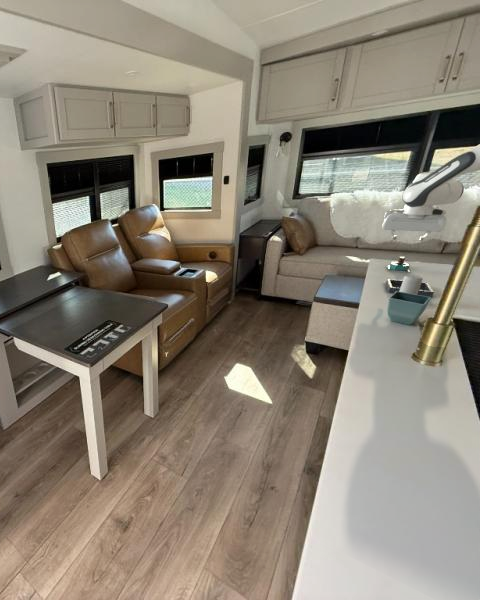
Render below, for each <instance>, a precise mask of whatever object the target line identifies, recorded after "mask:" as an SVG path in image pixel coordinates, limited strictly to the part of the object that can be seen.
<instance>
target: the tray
mask: <svg viewBox="0 0 480 600" xmlns="http://www.w3.org/2000/svg"><path fill="white" fill-rule="evenodd" d="M402 282H403V279H395V278H394V279H393V278H386V282H385V287H386V291H387V293H388V294H394V293H395V292H396V291H400V288H401V285H402ZM434 294H435V291H434V290H433V288H432V287H431V285H430V283H429V282H424V281H422V283H421V285H420V288H419V291H418V293H417V295H422V296H427V297H431V299H432V298H433V296H434Z"/></svg>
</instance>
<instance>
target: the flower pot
mask: <svg viewBox="0 0 480 600" xmlns="http://www.w3.org/2000/svg"><path fill="white" fill-rule="evenodd" d="M431 299H432V298H431V297H427V296H422V295H416V294H410V293H404V292H399V291H396V292H395V293H392V294H391V295H390V296H389V297H388V301H387V302H388V303H387V309H386V312H387V316H388V318H389V320H390V321H391V322H395V323H400V324H404V325H409V326H410V325H413V324H414V323H415V322H416V321H418V319H419V318H420V317H421V315H422V314H424V312H425V310H426V309H427V307H428V305H429V303H430V301H431Z"/></svg>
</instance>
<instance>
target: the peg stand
mask: <svg viewBox="0 0 480 600" xmlns="http://www.w3.org/2000/svg"><path fill="white" fill-rule="evenodd" d="M405 260H406V257H405V256H399V257H398V260H397V262H398V263H397V265H403V263H405ZM387 268H388V270H389V271H396V272H400V271H399V270H393V269H390V265H387ZM405 272H407V273H410V272H411V271H410V268H409V269H408V270H406V271H405Z"/></svg>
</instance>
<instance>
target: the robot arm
mask: <svg viewBox="0 0 480 600" xmlns="http://www.w3.org/2000/svg"><path fill="white" fill-rule="evenodd" d="M478 171H480V143H479V144H478V145H476V146H474V147H472V148H470V149H469V150H467V151H465V152H462V153H461V154H459V155H457V156H455V157H454V158H452V159H451V160H449V161H447V162H446V163H445V164H443V165H441V166H440V167H439V168H437V169H435V170H434V171H433V170H432V171H425V172H421V173H418V174H417V175H416V176H415V178H414V180H413V181H412V183H410V184H409V185H408V186H407V187H406V188H405V189H404V191H403V192H402V195H401V199H402V202H403V203H404V204H405V205H404V207H403V209H390V210H387V211H386V212H385V213H384V216H383V218H384V219H383V221H382V224H381V229H382V230H384V231H390V235H391V238H390V239H391V240H392V241H394V240H397V238H398V237H397V236H398V235H395V233H396V231H403V232H405V231H408V232H409V231H410V232H424V233H425V234H424V235H423V236H420V237H419V239H418V241H419V242H425V241H426V238H428V237H429V236H430V235H431V233H433V232H435V233H440V232H441V233H442V232H443V231H444V230H445V227H446V224H447V217H446V216H445V215H446V214H447V210H446V209H444V208H442V207H439V206H441V205H450V204H454V203H455V202H457V201H458V200H460V199H461V197H462V196H463V194H464V190H465V188H464V187H465V186H464V184H463V183H462V182H461V181H459V180H454V179H456V178H458V177H460V176H463V175H465V174H469V173H470V174H471V173H473V172H478Z"/></svg>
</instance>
